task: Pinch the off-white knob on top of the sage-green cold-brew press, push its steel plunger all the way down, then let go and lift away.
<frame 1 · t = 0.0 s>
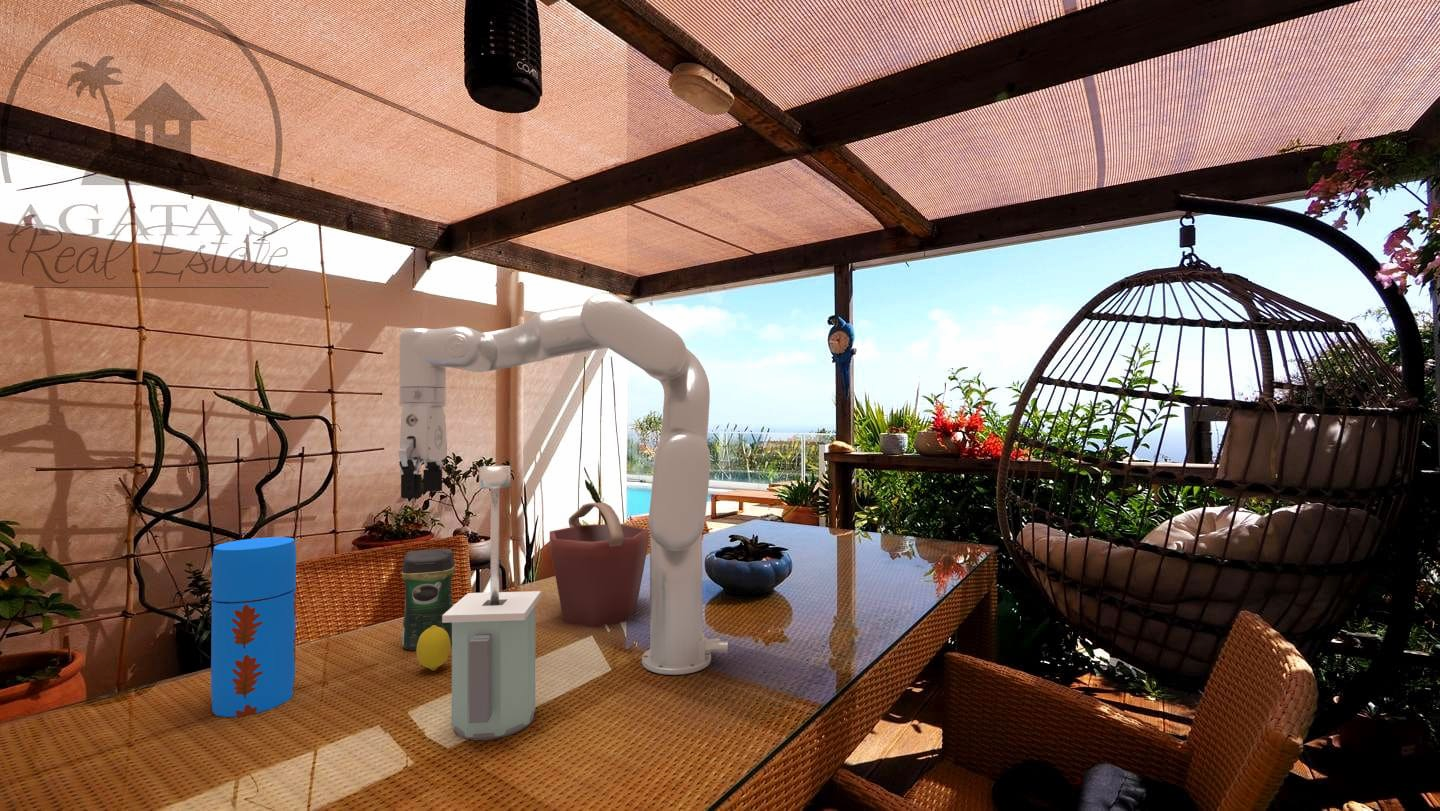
hand: (422, 494, 113), 31 cm above the table, tool pointing down, fingers open, 9 cm apart
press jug: (494, 720, 94), on the table
plunger: (494, 548, 94), point 25 cm above the table, slide at 0.0 cm
coffee jar: (428, 644, 126), on the table
lemon: (433, 671, 112), on the table
thermos: (254, 702, 101), on the table
bucket: (600, 614, 144), on the table
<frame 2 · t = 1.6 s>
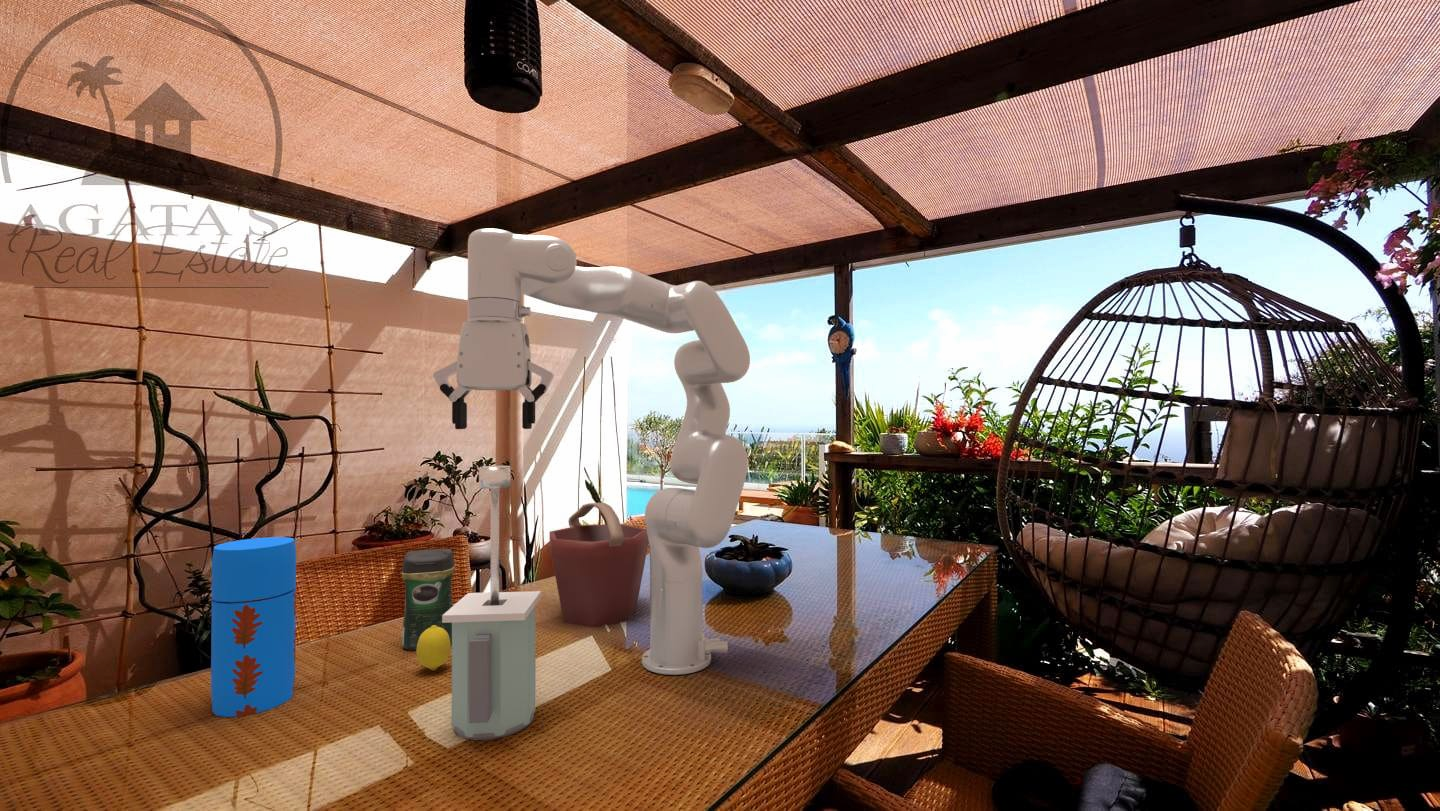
hand: (494, 428, 94), 43 cm above the table, tool pointing down, fingers open, 9 cm apart
nothing on the table moved.
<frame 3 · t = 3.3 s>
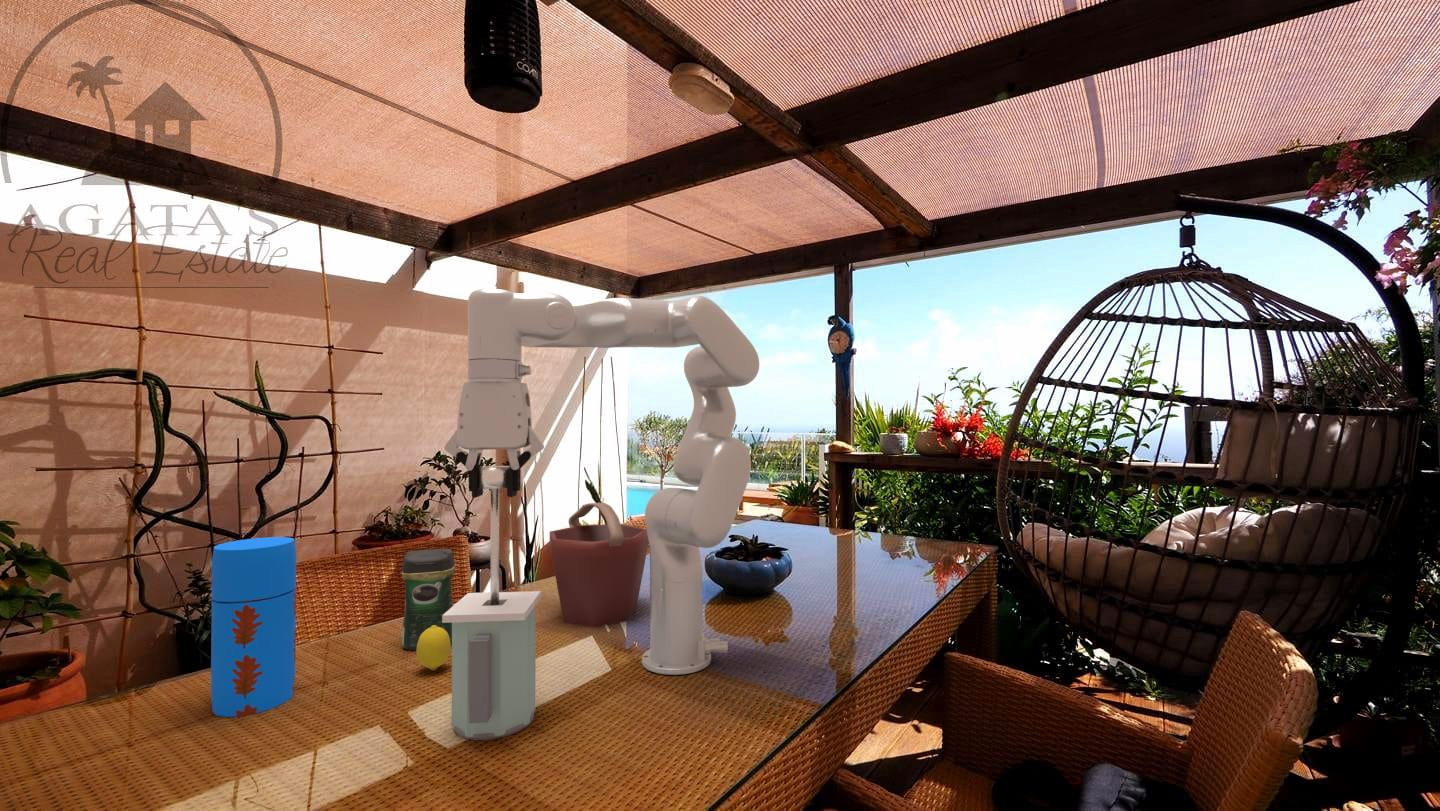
hand: (494, 495, 94), 33 cm above the table, tool pointing down, fingers closed on plunger, 4 cm apart
plunger: (494, 548, 94), point 25 cm above the table, slide at 0.0 cm, touching gripper
everything else where it was.
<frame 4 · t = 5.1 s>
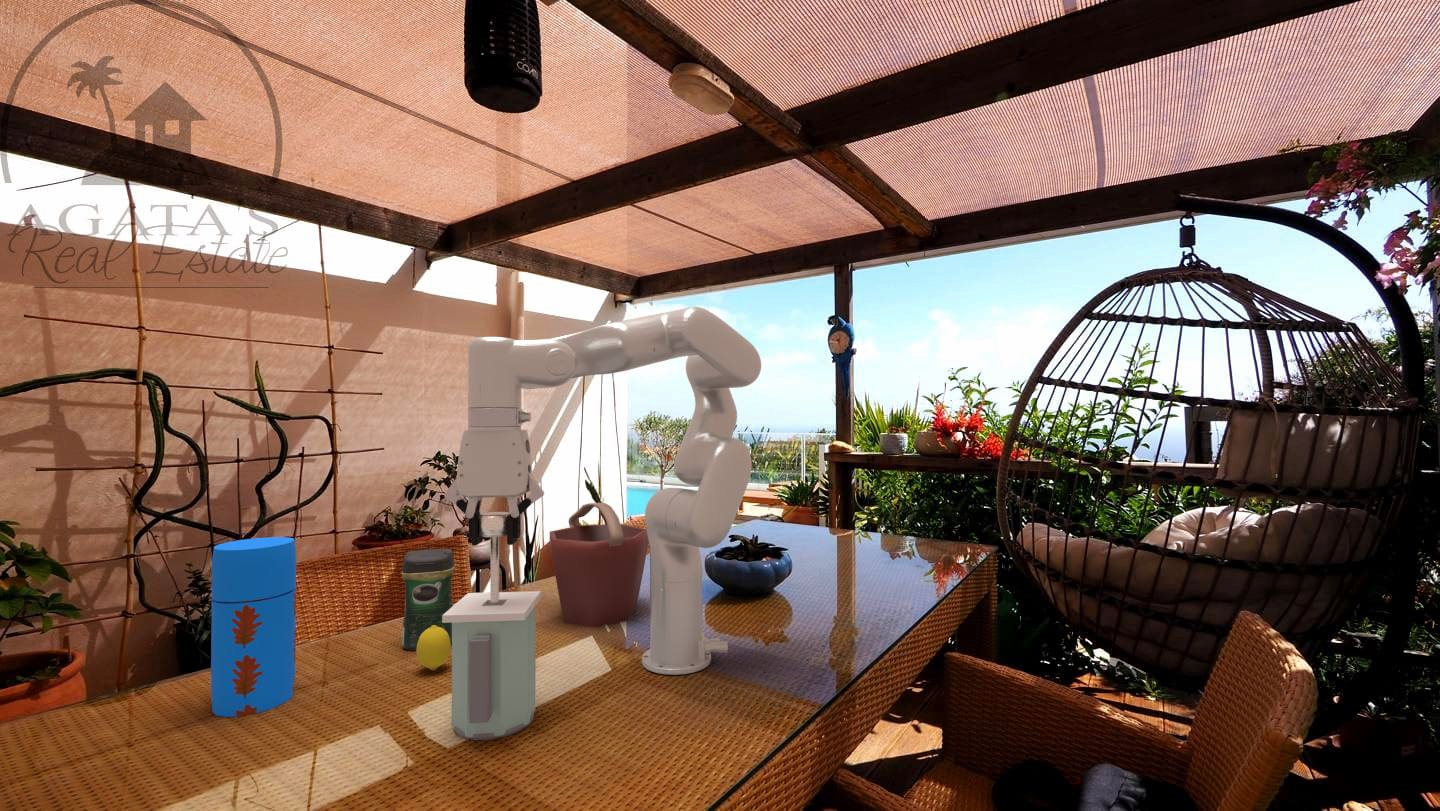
hand: (494, 542, 94), 26 cm above the table, tool pointing down, fingers closed on plunger, 4 cm apart
plunger: (494, 596, 94), point 18 cm above the table, slide at 7.0 cm, touching gripper
everything else where it was.
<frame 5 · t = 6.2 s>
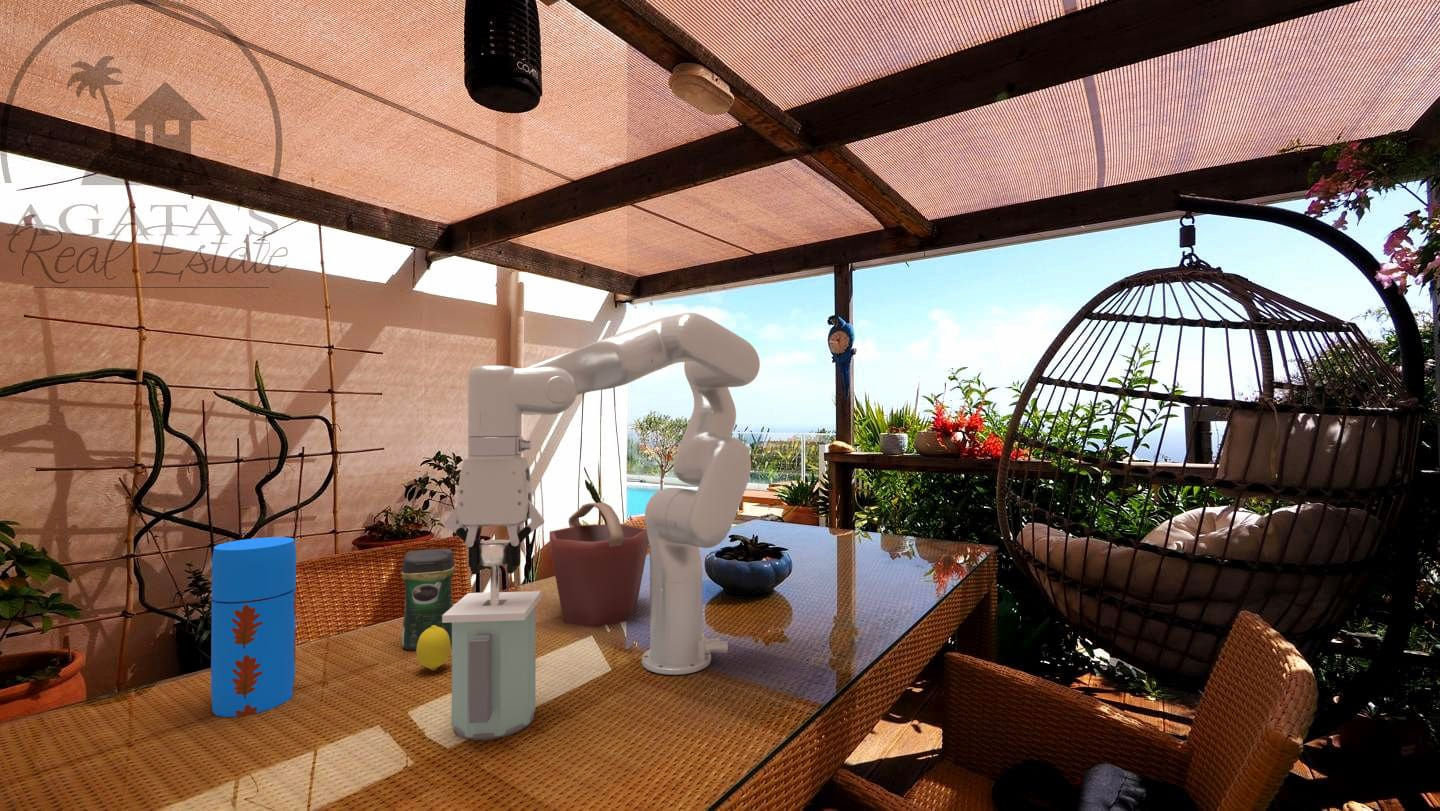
hand: (494, 570, 94), 22 cm above the table, tool pointing down, fingers closed on plunger, 4 cm apart
plunger: (494, 624, 94), point 14 cm above the table, slide at 11.2 cm, touching gripper
everything else where it was.
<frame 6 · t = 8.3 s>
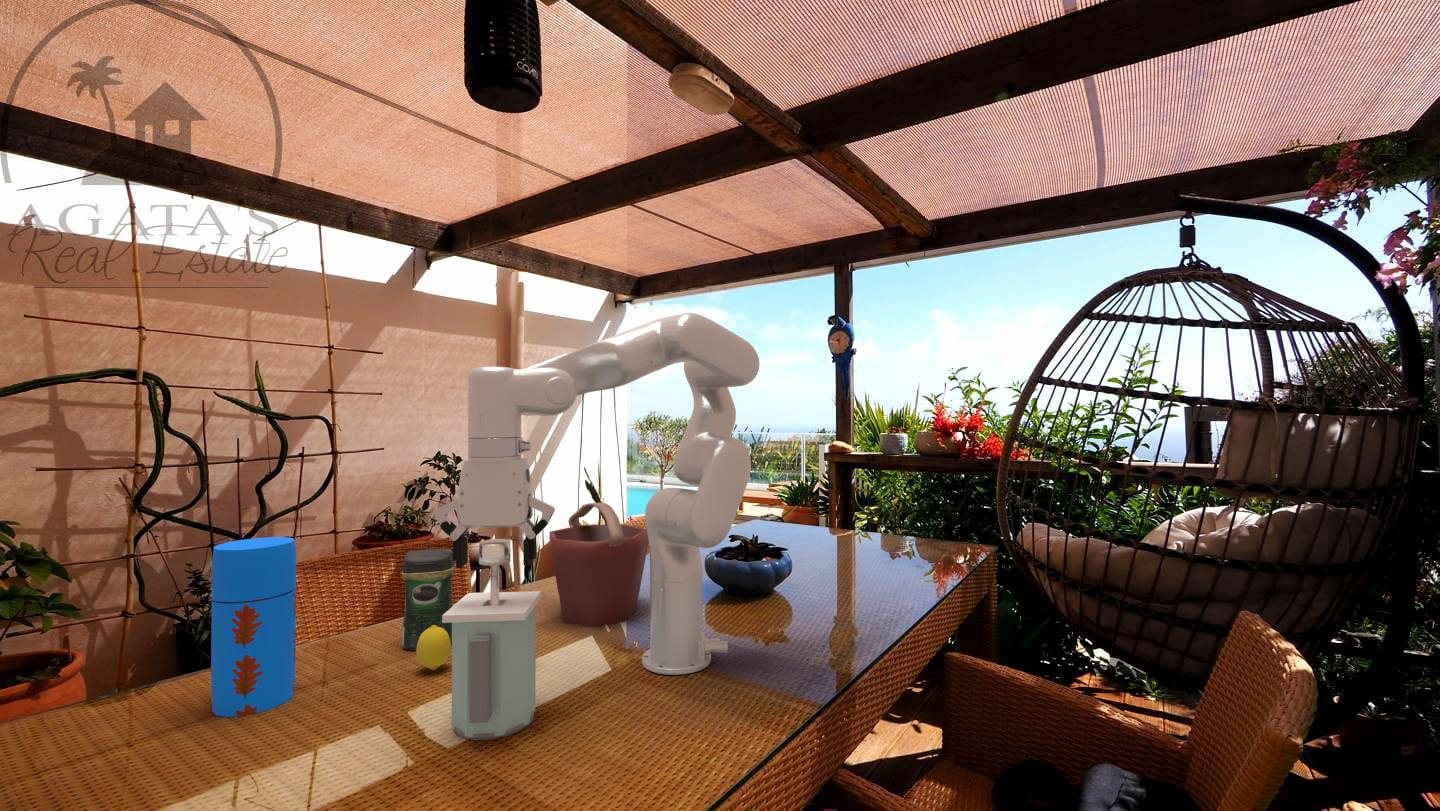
hand: (495, 565, 94), 23 cm above the table, tool pointing down, fingers open, 9 cm apart
plunger: (494, 623, 94), point 14 cm above the table, slide at 11.1 cm
everything else where it was.
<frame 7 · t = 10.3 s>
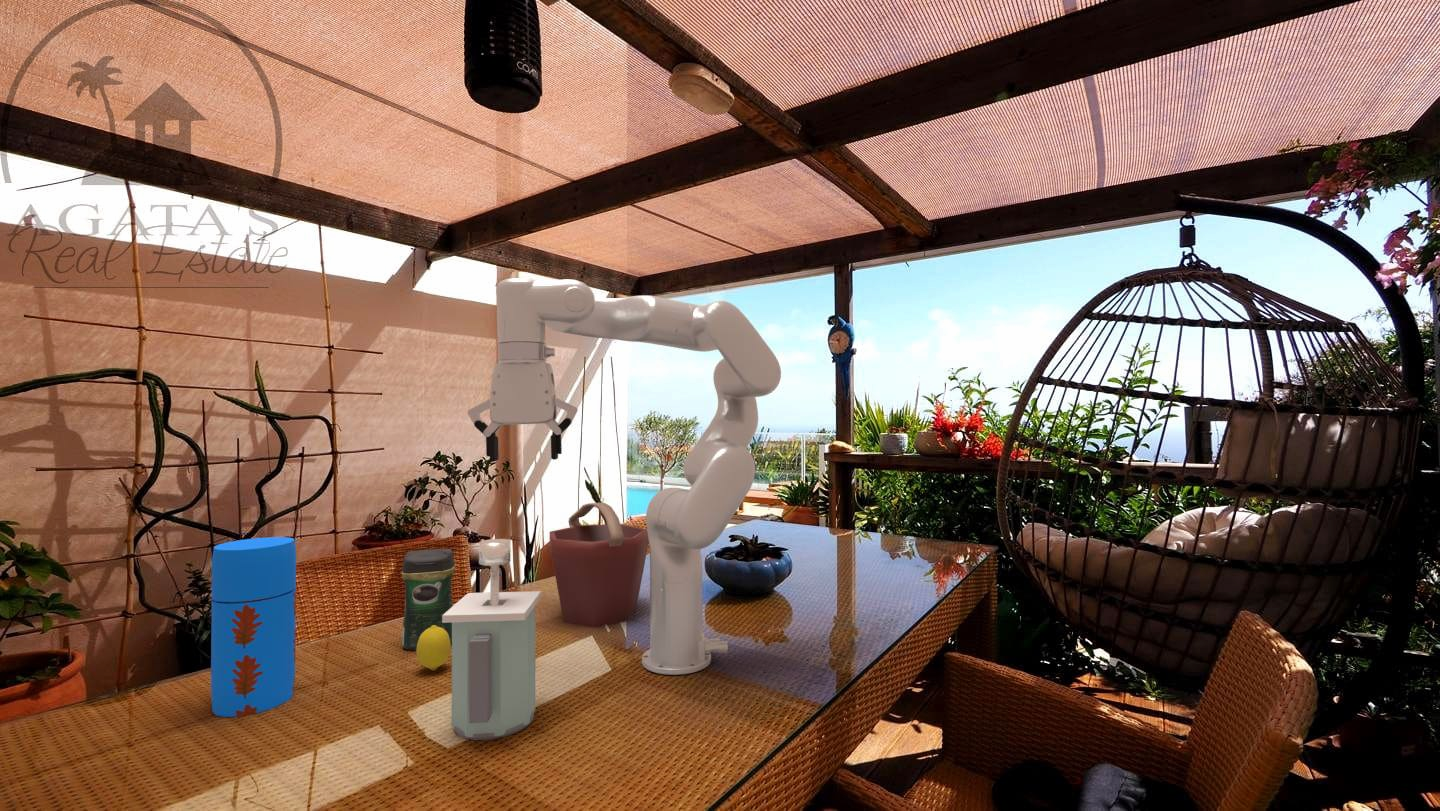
hand: (524, 459, 104), 38 cm above the table, tool pointing down, fingers open, 9 cm apart
nothing on the table moved.
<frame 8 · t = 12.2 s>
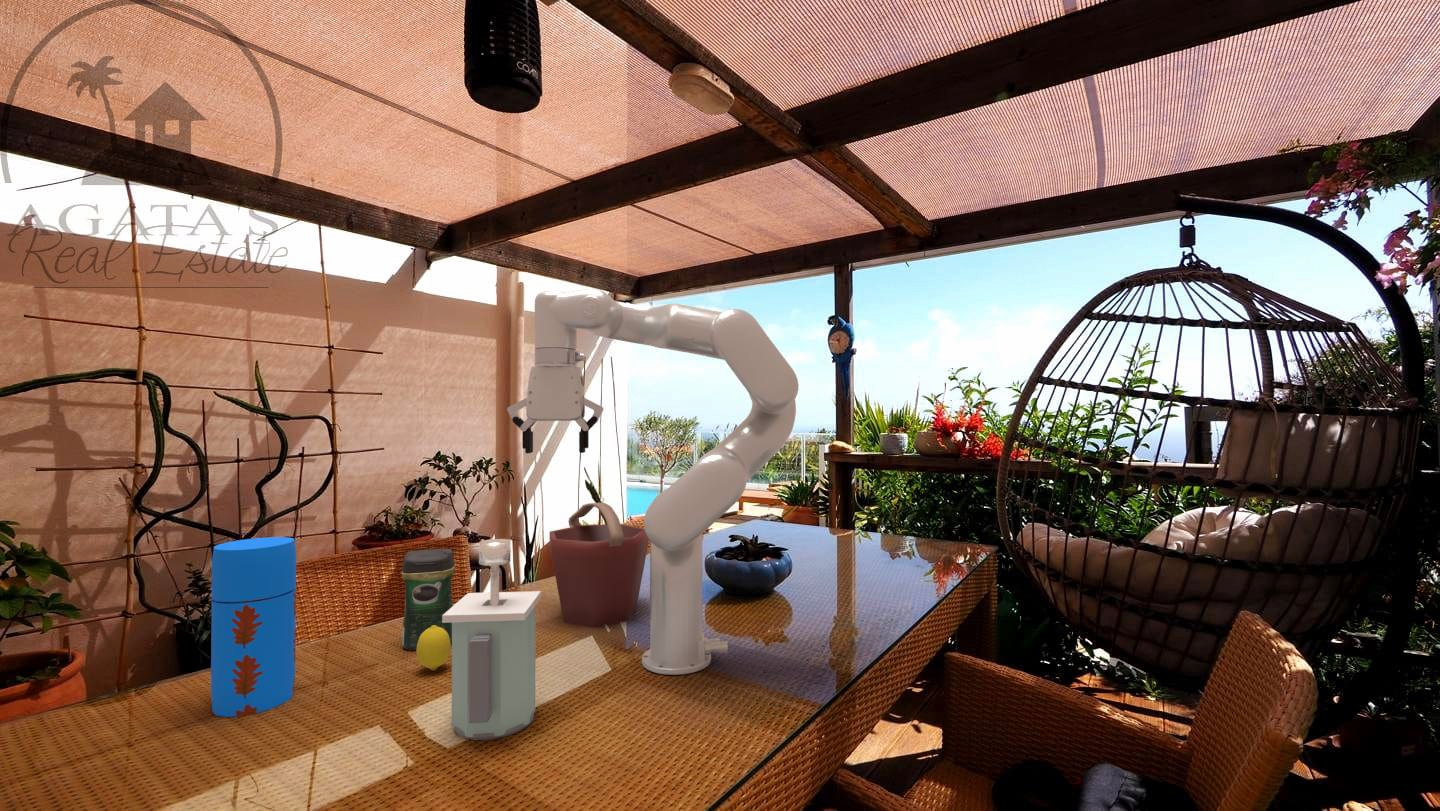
hand: (555, 452, 117), 38 cm above the table, tool pointing down, fingers open, 9 cm apart
nothing on the table moved.
at the end: plunger slide at 11.1 cm; the gripper is holding nothing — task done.
